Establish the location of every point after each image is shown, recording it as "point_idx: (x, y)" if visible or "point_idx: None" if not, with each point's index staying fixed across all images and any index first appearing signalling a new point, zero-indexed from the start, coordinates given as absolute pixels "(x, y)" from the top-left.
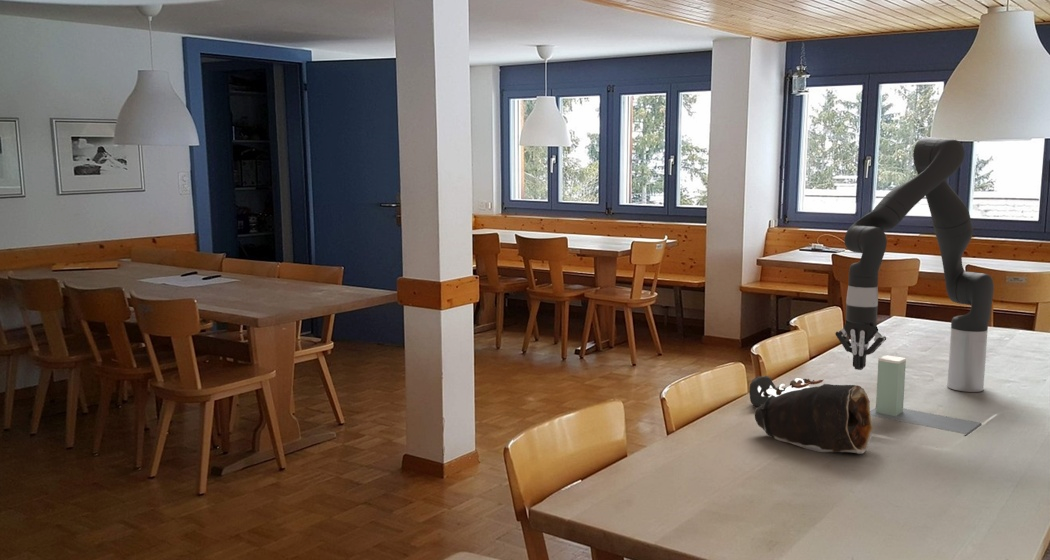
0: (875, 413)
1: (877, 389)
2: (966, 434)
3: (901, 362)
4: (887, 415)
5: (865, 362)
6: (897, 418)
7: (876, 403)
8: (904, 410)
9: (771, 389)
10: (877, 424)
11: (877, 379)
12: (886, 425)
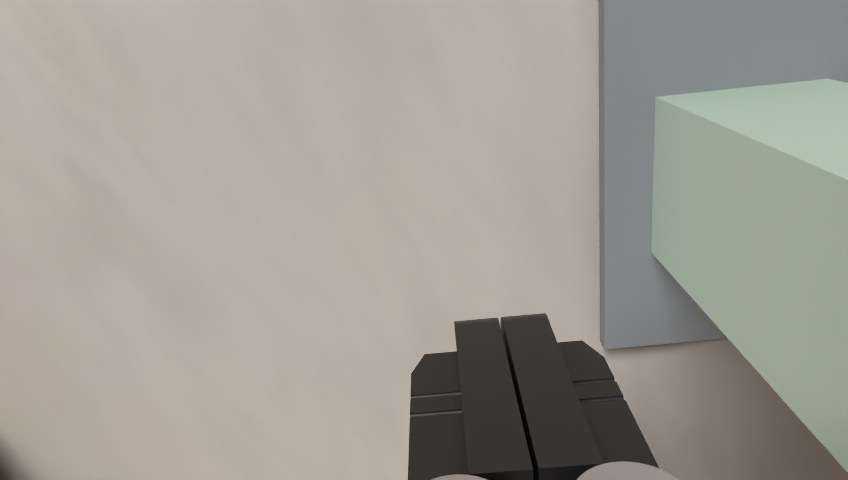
0: (663, 284)
1: (743, 346)
2: None
3: None
4: None
5: (620, 401)
6: None
7: (681, 281)
8: (827, 20)
9: None
10: (736, 432)
11: (800, 417)
12: (790, 413)
